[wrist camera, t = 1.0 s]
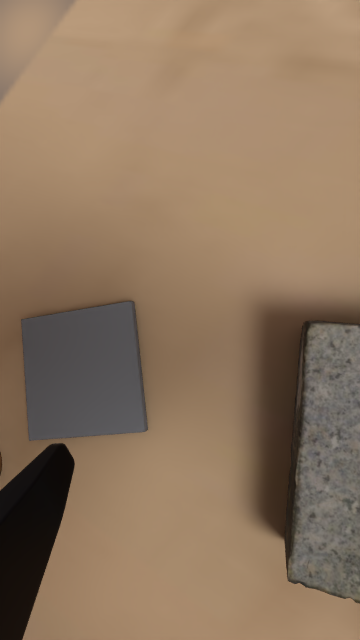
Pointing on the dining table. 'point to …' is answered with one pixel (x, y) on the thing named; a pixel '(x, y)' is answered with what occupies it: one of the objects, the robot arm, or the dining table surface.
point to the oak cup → (0, 463)
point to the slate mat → (84, 373)
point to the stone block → (326, 463)
